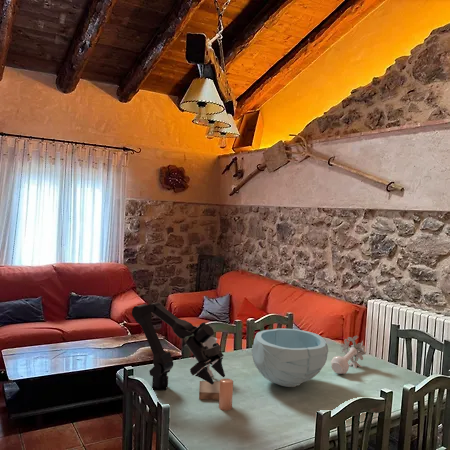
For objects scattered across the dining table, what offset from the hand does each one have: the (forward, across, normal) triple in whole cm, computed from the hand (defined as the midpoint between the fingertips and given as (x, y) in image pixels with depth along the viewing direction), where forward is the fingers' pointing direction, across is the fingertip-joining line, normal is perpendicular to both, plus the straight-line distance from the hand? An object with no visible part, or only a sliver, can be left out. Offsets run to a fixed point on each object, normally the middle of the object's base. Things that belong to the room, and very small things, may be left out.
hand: (218, 380), depth 180 cm
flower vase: (+33, +75, -17) cm, 84 cm away
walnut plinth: (+2, +8, +13) cm, 15 cm away
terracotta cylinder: (+10, 0, +5) cm, 11 cm away
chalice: (-7, +25, +22) cm, 34 cm away
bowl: (+19, +38, -4) cm, 43 cm away
